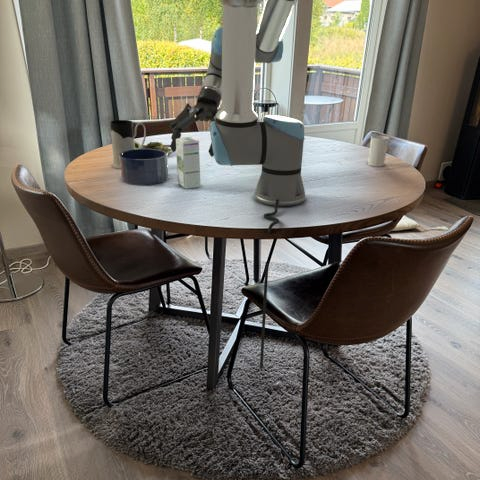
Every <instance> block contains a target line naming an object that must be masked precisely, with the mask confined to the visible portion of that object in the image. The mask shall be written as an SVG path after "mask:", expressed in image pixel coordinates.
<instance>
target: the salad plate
mask: <svg viewBox="0 0 480 480" xmlns="http://www.w3.org/2000/svg"><path fill="white" fill-rule="evenodd" d="M134 142H135V149H139V148H140V146H141V143H139V142H138V141H136V140H134ZM170 145H171V144H163V142H162V141H161V142H159V141H150V142H149V143H147V144H143V146H142V148H141V149H157V150H162V151H164V152H166V153H167V156H170V155H171V154H172V153H174V152H173V151H172V149H171V148H170Z"/></svg>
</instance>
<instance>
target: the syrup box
mask: <svg viewBox="0 0 480 480" xmlns="http://www.w3.org/2000/svg"><path fill="white" fill-rule="evenodd" d="M175 153H176V167H177V168H176V170H177V184H178V185H179V186H180V187H182V188H183V189H186V190H188V189H195V188H200V187H201V161H200V160H201V159H200V140H199V139H196V138H194V137H192V136H188V137H187V136H185V137H180V138H178V139H176V151H175Z"/></svg>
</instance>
